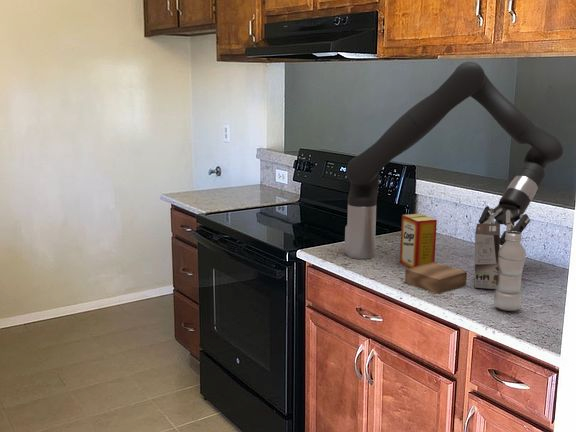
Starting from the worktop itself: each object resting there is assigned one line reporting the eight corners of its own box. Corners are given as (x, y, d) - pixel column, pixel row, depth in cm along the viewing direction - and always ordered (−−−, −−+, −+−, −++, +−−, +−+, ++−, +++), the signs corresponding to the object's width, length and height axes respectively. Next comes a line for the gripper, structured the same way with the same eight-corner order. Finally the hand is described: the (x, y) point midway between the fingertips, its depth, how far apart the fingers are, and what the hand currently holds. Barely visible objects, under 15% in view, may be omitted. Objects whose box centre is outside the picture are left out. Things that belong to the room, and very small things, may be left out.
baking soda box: (434, 269, 190) (436, 218, 186) (415, 271, 188) (417, 220, 184) (417, 261, 198) (420, 212, 195) (399, 262, 196) (401, 213, 193)
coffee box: (498, 289, 170) (499, 235, 164) (474, 288, 172) (474, 234, 167) (499, 275, 178) (500, 223, 172) (476, 274, 180) (476, 222, 175)
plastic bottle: (498, 302, 161) (504, 228, 157) (524, 309, 157) (531, 232, 153) (489, 309, 156) (495, 233, 152) (515, 316, 152) (522, 237, 148)
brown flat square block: (405, 282, 177) (405, 269, 176) (432, 274, 184) (433, 262, 183) (438, 293, 168) (438, 279, 167) (465, 285, 175) (466, 271, 174)
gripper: (492, 183, 181) (463, 228, 177) (537, 191, 170) (507, 239, 166) (501, 199, 186) (474, 243, 181) (545, 207, 174) (517, 254, 170)
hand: (490, 241), depth 173 cm, fingers closed on coffee box, 6 cm apart
